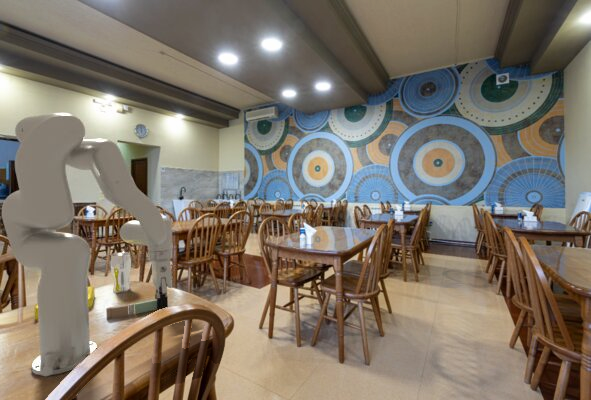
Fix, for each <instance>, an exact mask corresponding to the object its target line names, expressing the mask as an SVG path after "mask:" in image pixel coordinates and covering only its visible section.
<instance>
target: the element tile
mask: <svg viewBox="0 0 591 400" xmlns="http://www.w3.org/2000/svg"><path fill="white" fill-rule="evenodd" d="M94 299H95V287H94V286H92V285H91V286H88V310H89V309H91V308H92V307H93V305H94ZM33 311H34V320H36V321H38V304H37V303H36V305H35V306H34V310H33Z"/></svg>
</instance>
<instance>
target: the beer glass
mask: <svg viewBox="0 0 591 400" xmlns="http://www.w3.org/2000/svg"><path fill="white" fill-rule="evenodd" d="M131 270H132V259H131V252H130V251H120V252H114V253H111V255H110V271H111V275H112V280H113V288H112V292H113V293H114V294H123V293H126V292H128V290H129V291H130V290H131V284H130V275H131Z"/></svg>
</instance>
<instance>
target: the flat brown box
mask: <svg viewBox="0 0 591 400" xmlns="http://www.w3.org/2000/svg"><path fill="white" fill-rule="evenodd" d="M105 311H106V320H112V319H116V318H123V317H128V316H133V315H135V303H130V304H124V305H123V304H122V305H116V306H112V307H111V306H109V307H107V308H106V310H105Z"/></svg>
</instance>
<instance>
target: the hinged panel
mask: <svg viewBox="0 0 591 400" xmlns="http://www.w3.org/2000/svg"><path fill="white" fill-rule="evenodd" d="M160 292H162V291H160ZM157 298H158V292H157ZM157 310H158V309H157V299H150V300H146V301H140V302H135V303H134V315H136V314H137V315H138V314H141V313H147V312H151V311H157Z"/></svg>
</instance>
